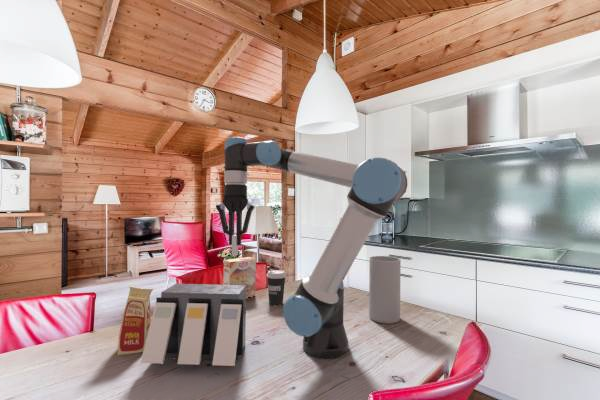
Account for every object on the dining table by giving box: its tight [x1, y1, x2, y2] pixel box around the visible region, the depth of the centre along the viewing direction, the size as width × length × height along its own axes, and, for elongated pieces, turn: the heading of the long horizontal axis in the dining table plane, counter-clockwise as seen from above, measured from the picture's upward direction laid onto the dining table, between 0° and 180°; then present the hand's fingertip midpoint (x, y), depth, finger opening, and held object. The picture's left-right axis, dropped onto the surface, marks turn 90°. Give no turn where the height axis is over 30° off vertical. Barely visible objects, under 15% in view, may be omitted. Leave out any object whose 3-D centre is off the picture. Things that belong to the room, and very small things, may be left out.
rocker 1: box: [140, 302, 176, 364], centre depth 87 cm, size 1×6×16 cm, turn 88°
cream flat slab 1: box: [176, 303, 208, 365], centre depth 87 cm, size 1×6×16 cm, turn 88°
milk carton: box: [117, 285, 154, 356], centre depth 99 cm, size 9×9×20 cm
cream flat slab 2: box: [211, 304, 242, 367], centre depth 86 cm, size 1×6×16 cm, turn 89°
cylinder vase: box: [368, 255, 402, 325], centre depth 126 cm, size 12×12×25 cm
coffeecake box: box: [222, 256, 257, 299], centre depth 151 cm, size 15×7×20 cm, turn 131°
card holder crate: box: [155, 283, 247, 362], centre depth 96 cm, size 10×27×20 cm, turn 88°
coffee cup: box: [266, 269, 287, 306], centre depth 143 cm, size 10×10×15 cm
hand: (235, 254), depth 100 cm, fingers closed
